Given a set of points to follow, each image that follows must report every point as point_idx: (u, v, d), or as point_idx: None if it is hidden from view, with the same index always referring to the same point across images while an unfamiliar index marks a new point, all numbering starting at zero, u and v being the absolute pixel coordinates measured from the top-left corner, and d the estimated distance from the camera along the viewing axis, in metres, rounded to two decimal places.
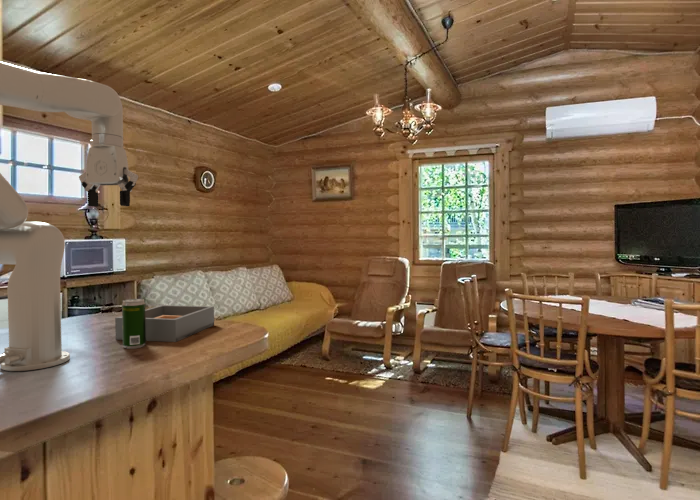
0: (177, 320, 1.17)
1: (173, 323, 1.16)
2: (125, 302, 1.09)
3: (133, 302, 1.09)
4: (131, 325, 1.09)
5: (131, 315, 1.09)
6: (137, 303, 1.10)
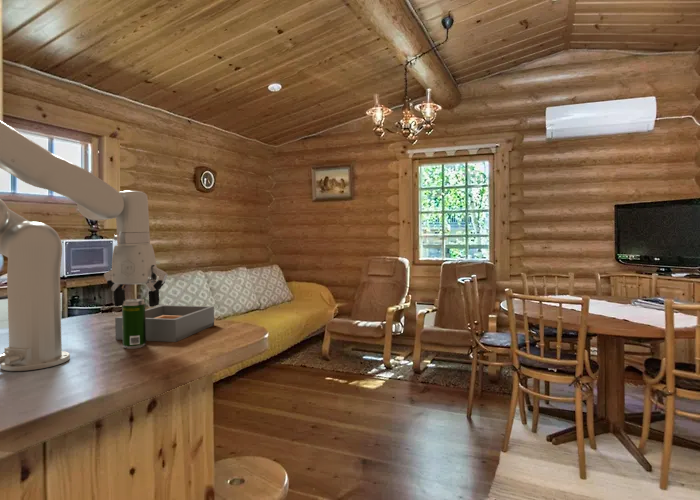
0: (177, 320, 1.17)
1: (173, 323, 1.16)
2: (125, 302, 1.09)
3: (133, 302, 1.09)
4: (131, 325, 1.09)
5: (131, 315, 1.09)
6: (137, 303, 1.10)
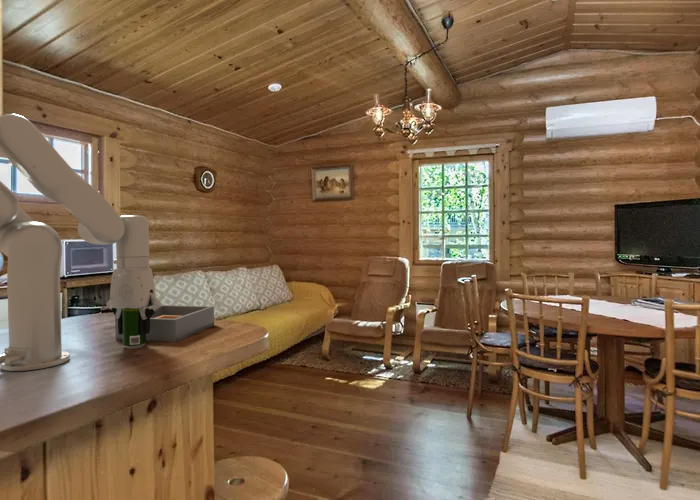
0: (177, 320, 1.17)
1: (173, 323, 1.16)
2: None
3: None
4: (131, 325, 1.09)
5: (131, 315, 1.09)
6: None
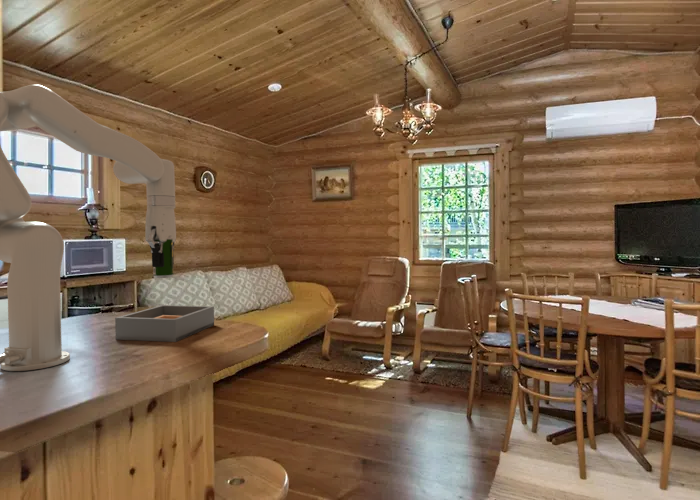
0: (177, 320, 1.17)
1: (173, 323, 1.16)
2: None
3: None
4: None
5: None
6: None
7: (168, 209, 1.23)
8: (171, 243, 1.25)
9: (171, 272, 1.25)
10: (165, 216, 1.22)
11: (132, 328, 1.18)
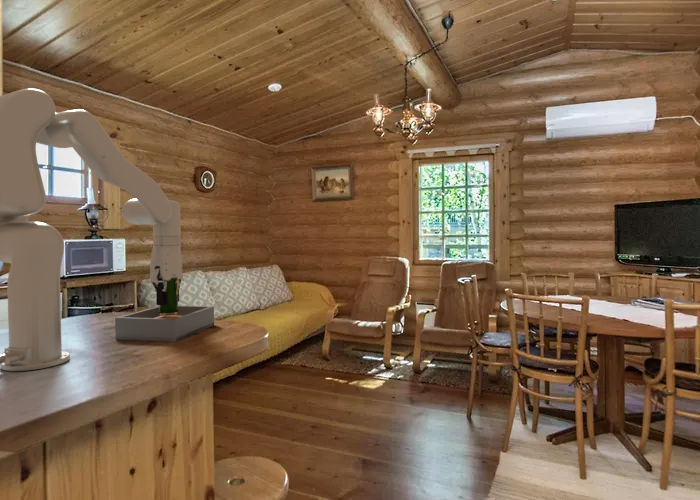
0: (177, 320, 1.17)
1: (173, 323, 1.16)
2: None
3: None
4: None
5: None
6: None
7: (173, 248, 1.27)
8: (175, 281, 1.28)
9: (175, 310, 1.28)
10: (169, 256, 1.25)
11: (132, 328, 1.18)
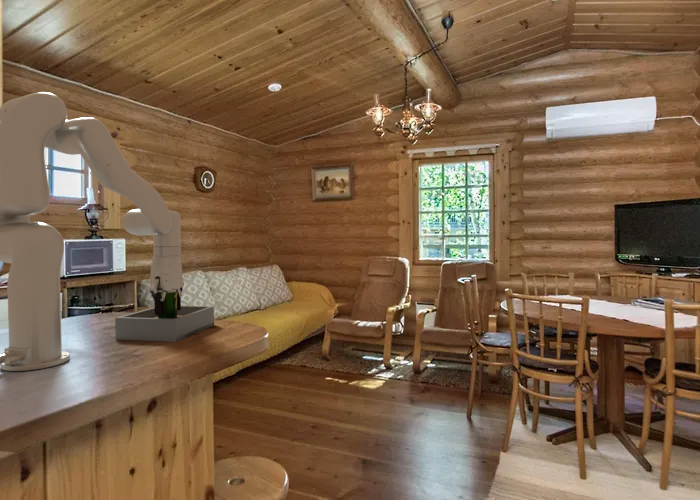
0: (177, 320, 1.17)
1: (173, 323, 1.16)
2: None
3: None
4: None
5: None
6: None
7: (173, 259, 1.27)
8: (174, 295, 1.28)
9: None
10: (169, 266, 1.25)
11: (132, 328, 1.18)
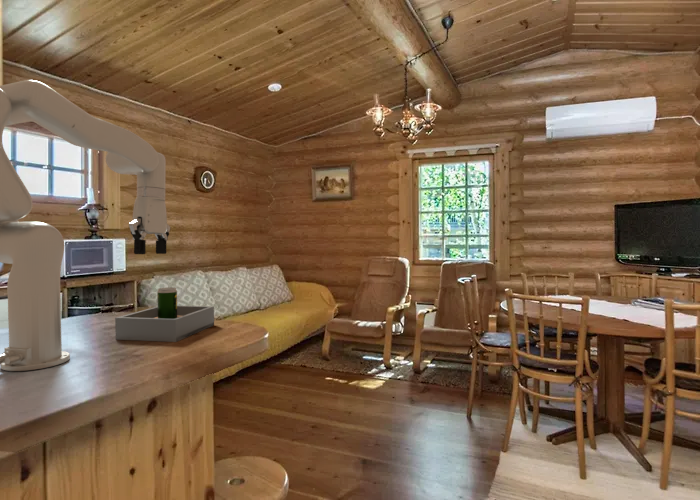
0: (177, 320, 1.17)
1: (173, 323, 1.16)
2: None
3: (158, 289, 1.27)
4: None
5: None
6: (158, 291, 1.26)
7: (156, 201, 1.24)
8: (175, 296, 1.28)
9: None
10: (152, 207, 1.23)
11: (132, 328, 1.18)
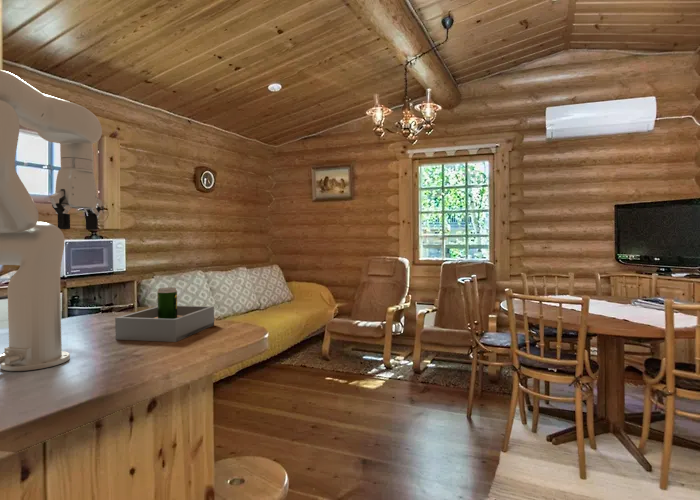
0: (177, 320, 1.17)
1: (173, 323, 1.16)
2: None
3: (158, 289, 1.27)
4: None
5: None
6: (158, 291, 1.26)
7: (82, 173, 1.17)
8: (175, 296, 1.28)
9: None
10: (76, 179, 1.15)
11: (132, 328, 1.18)
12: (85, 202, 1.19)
